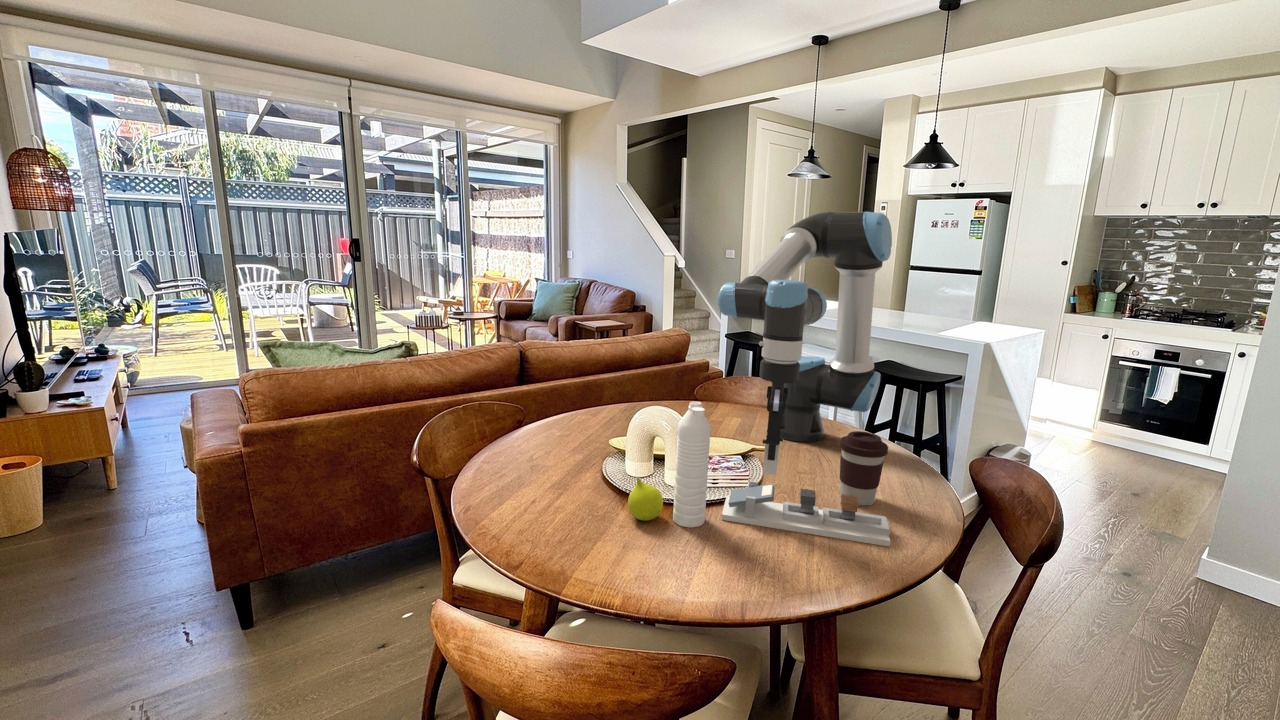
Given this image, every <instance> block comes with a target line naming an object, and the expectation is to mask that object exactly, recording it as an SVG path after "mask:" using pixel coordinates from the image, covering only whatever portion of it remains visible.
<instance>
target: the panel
mask: <svg viewBox="0 0 1280 720" xmlns="http://www.w3.org/2000/svg"><path fill="white" fill-rule="evenodd" d="M748 482H749V483H748V487H754V486H759V480H751V479H749V481H748ZM755 498H756V497H751V496H746V505H743V506H736V507H729V499H730V495H726V497H725V500H724V505H723V509H722V511H721V520H722V521H729V522H734V523H740V524H747V525H752V526H759V527H764V528H770V529H778V530H783V531H790V532H797V533H802V534H808V535H815V536H822V537H826V538H827V537H828V538H832V539H833V538H834V539H840V540H845V541H852V542H859V543H865V544H873V545H877V546H885V547H888V548H889V547H890V545H891V538H890V531H891V530H890V526H889V523H888V520H887V517H886V516H885V515H884V516H883V515H876V514H871V513H864V512H858V511H857V512H855V520H854V521H849V520H842V519H840V515H841V509H835V508H830V507H822V508H821V509H820V508H819V506H816V505H815V506H814V507H813V515H809V514H803V513H800V505H801V504H800V503H796V502H790V501H789V502H788V501H783V503H779V502H774V501H771V502H764V503H757V504H755Z"/></svg>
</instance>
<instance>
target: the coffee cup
mask: <svg viewBox="0 0 1280 720" xmlns="http://www.w3.org/2000/svg"><path fill="white" fill-rule="evenodd" d="M839 448H840V449H841V453H840V457H839V458H840V463H839V480H840V484H839V485H840V487H839V496H840V498H841V495H842V494H844V495H851V496H856V497H857V501H858V507H859V506H861V507H864V506H866V507H867V506H871V505H872V504H874V503H875V499H876V494H877V489H878V487H879V485H880V480H881V476H882V473H883V467H884V457H886V456H887V455H888V451H889V445H888V444H887V443H885V442H883V440H882V438H881V437H880V436H879V435H877V434H874V433H873V432H867V431H861V430H860V431H859V430H856V431H850V432H848V434H847V435H845V436H842V437H840V438H839Z"/></svg>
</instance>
